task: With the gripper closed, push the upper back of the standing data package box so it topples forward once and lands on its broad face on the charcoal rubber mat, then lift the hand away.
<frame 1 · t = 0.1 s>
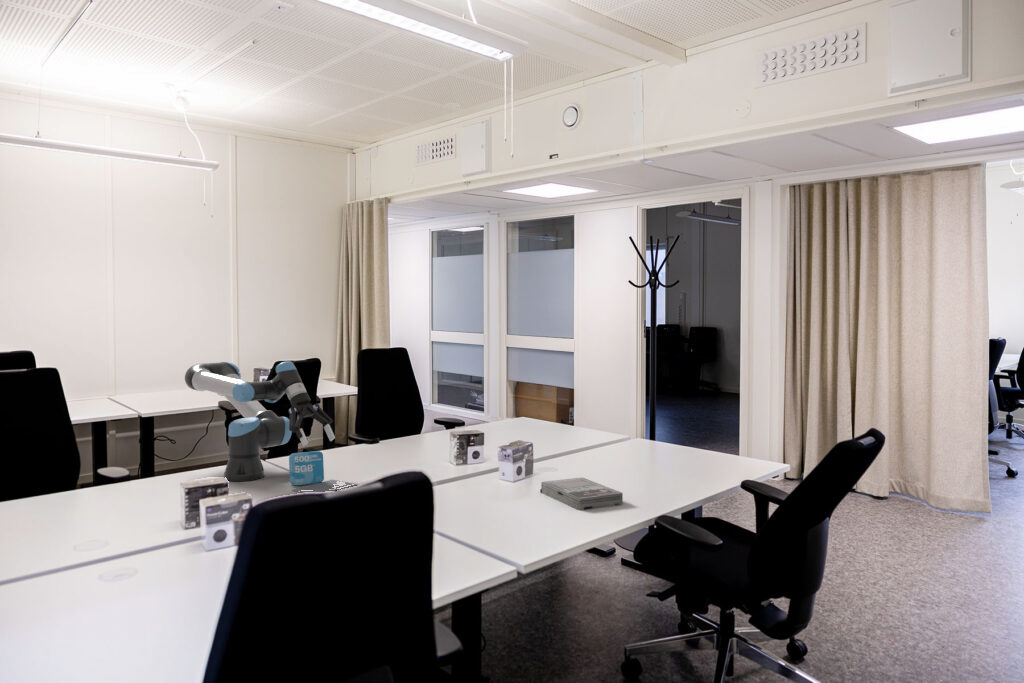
hand: (319, 442, 271), 15 cm above the table, tool tilted 35°, fingers open, 13 cm apart
grey flat block: (580, 500, 248), on the table
data package: (307, 484, 265), on the table, touching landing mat
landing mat: (325, 487, 259), on the table
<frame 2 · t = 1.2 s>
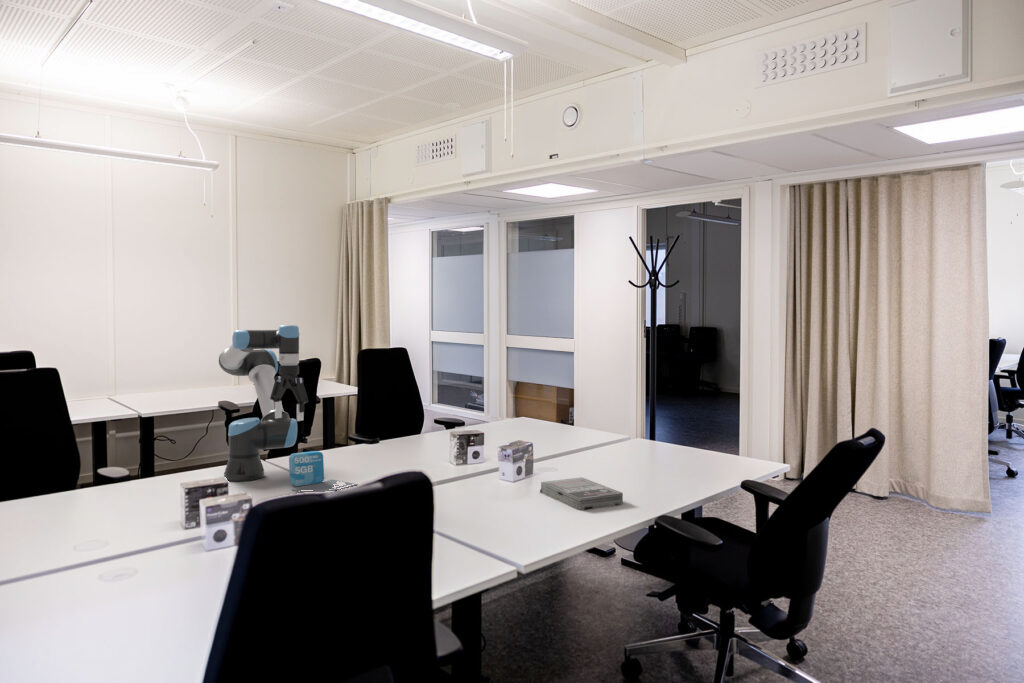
hand: (289, 419, 270), 24 cm above the table, tool pointing down, fingers open, 12 cm apart
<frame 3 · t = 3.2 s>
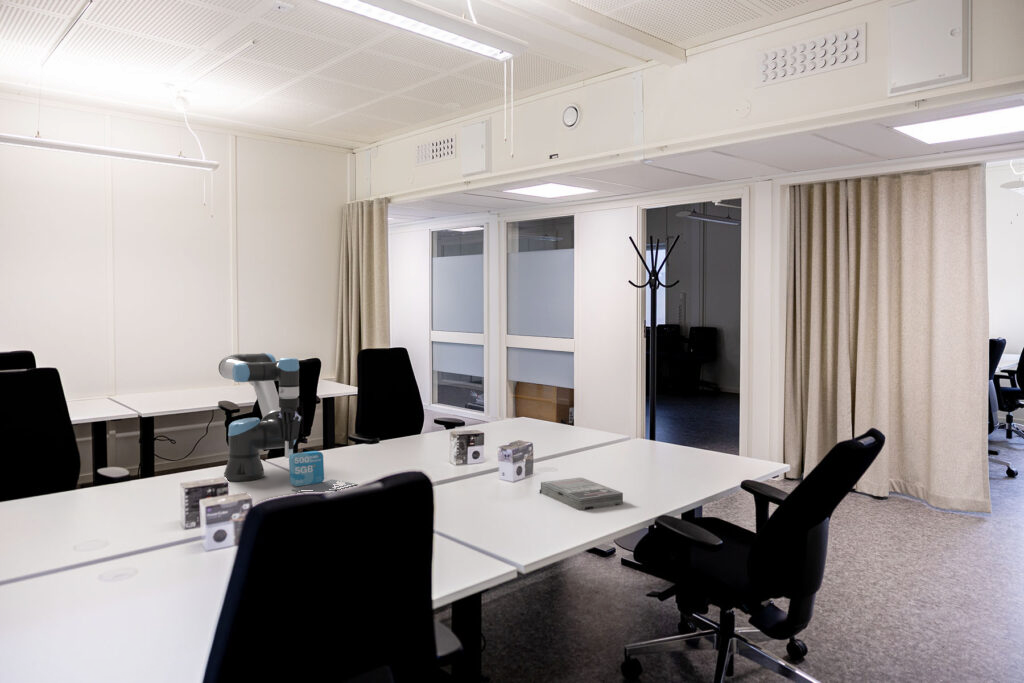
hand: (288, 457, 270), 9 cm above the table, tool pointing down, fingers closed
nothing on the table moved.
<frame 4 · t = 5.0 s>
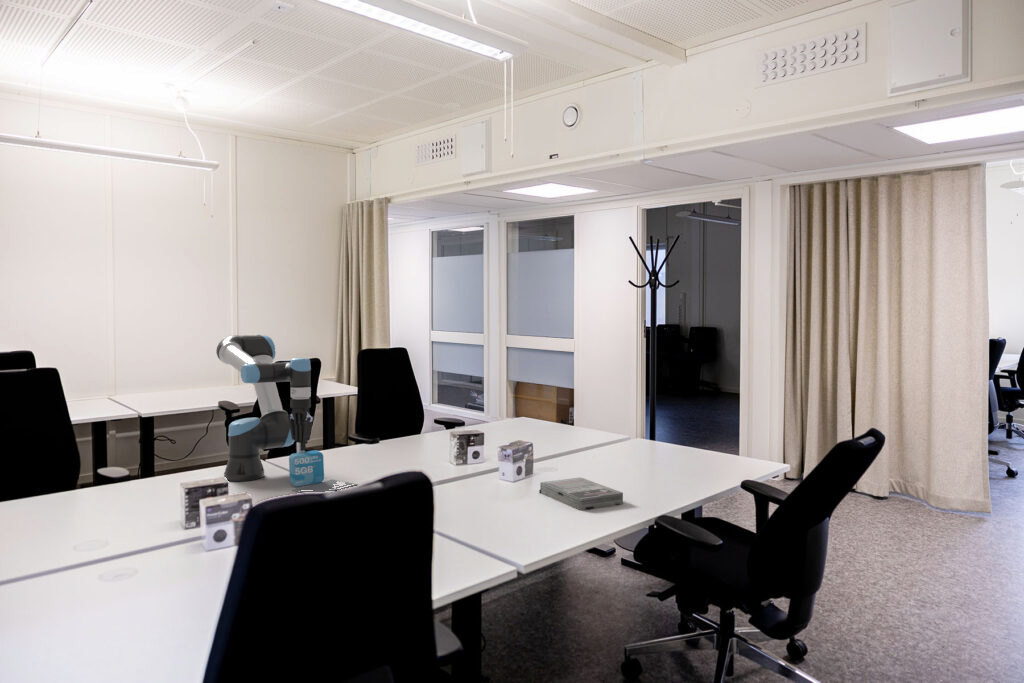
hand: (300, 458, 266), 10 cm above the table, tool pointing down, fingers closed
data package: (307, 483, 265), on the table, touching gripper, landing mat
everything else where it was.
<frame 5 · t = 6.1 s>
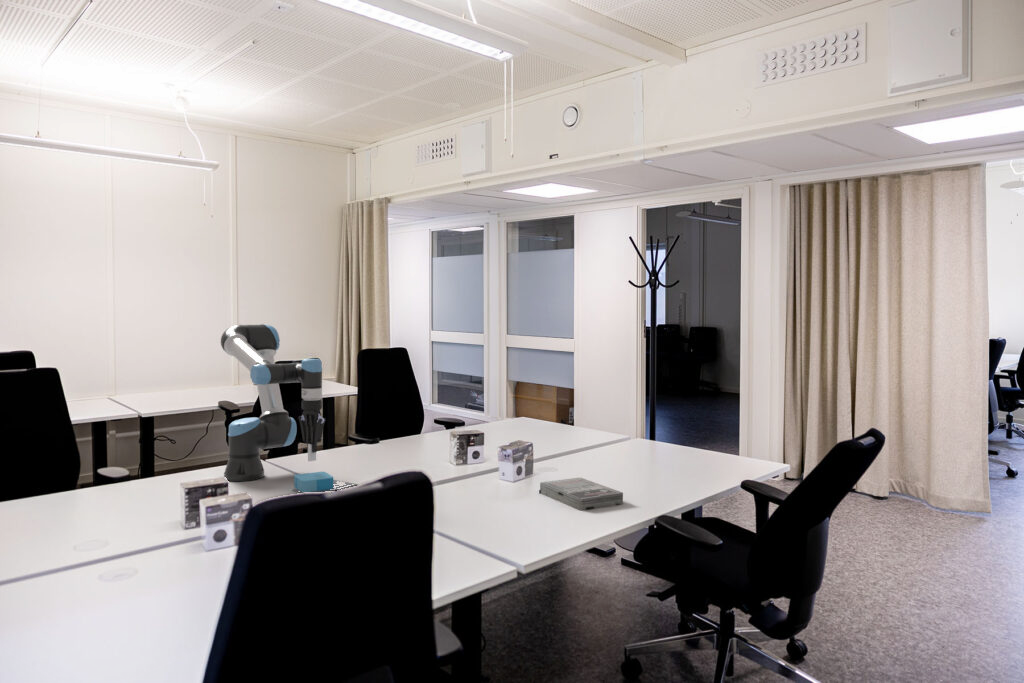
hand: (312, 460, 263), 10 cm above the table, tool pointing down, fingers closed
data package: (308, 478, 263), point 3 cm above the table, touching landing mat
everything else where it was.
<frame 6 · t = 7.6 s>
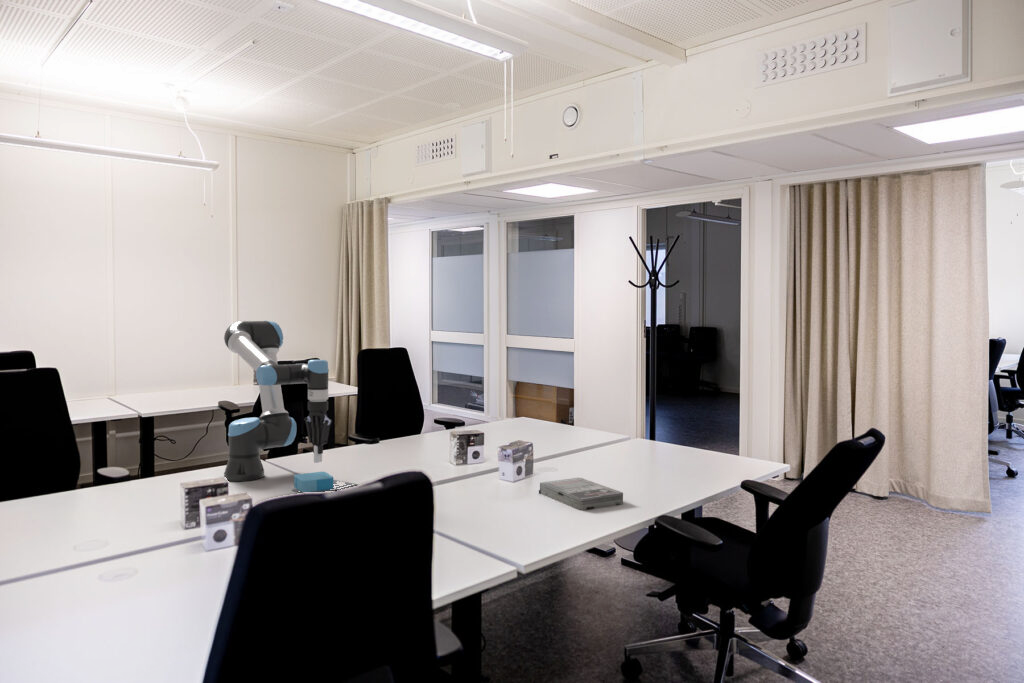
hand: (318, 462, 261), 9 cm above the table, tool pointing down, fingers closed
nothing on the table moved.
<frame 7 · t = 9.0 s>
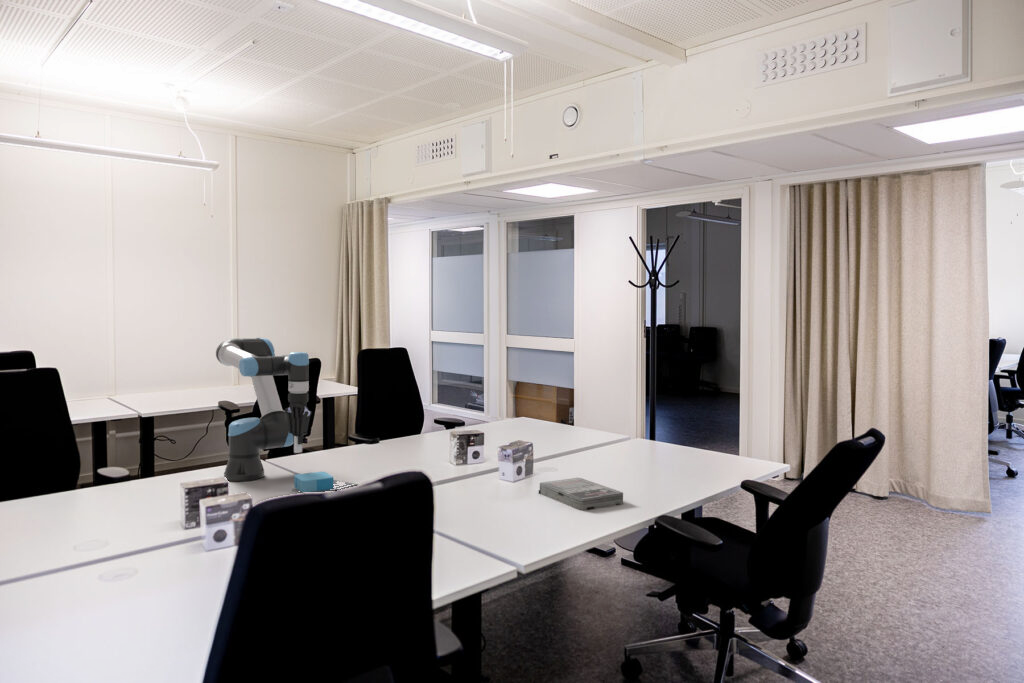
hand: (297, 452, 268), 12 cm above the table, tool pointing down, fingers closed
nothing on the table moved.
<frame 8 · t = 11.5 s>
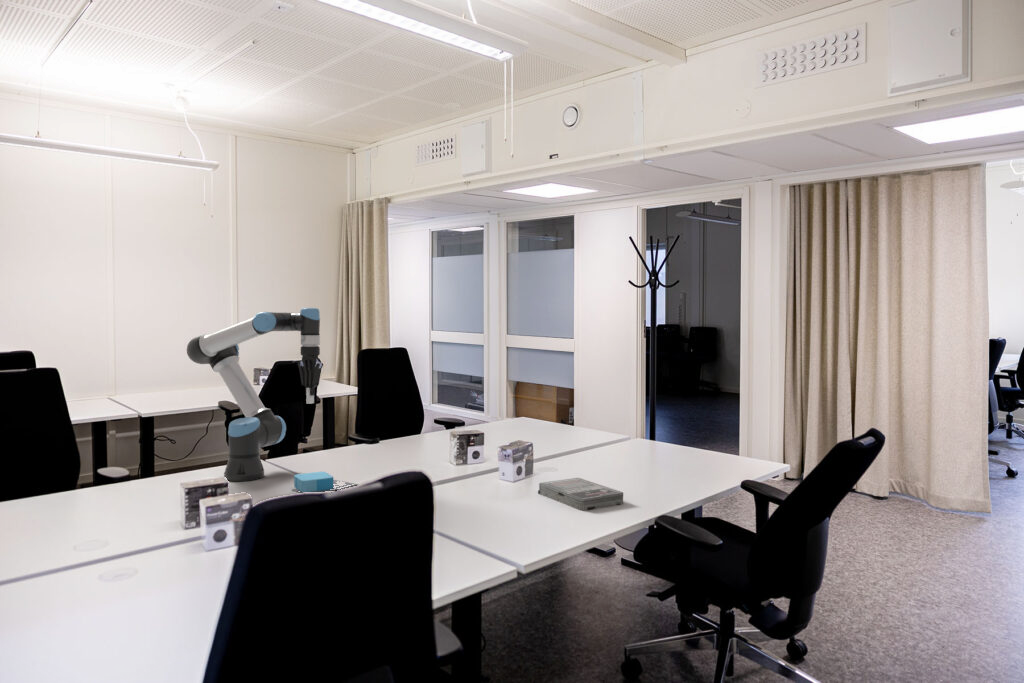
hand: (310, 403, 281), 29 cm above the table, tool pointing down, fingers closed
nothing on the table moved.
at the end: data package tilted 90°; data package inside the target area (4.2 cm from its centre), point 2.7 cm above the table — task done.
